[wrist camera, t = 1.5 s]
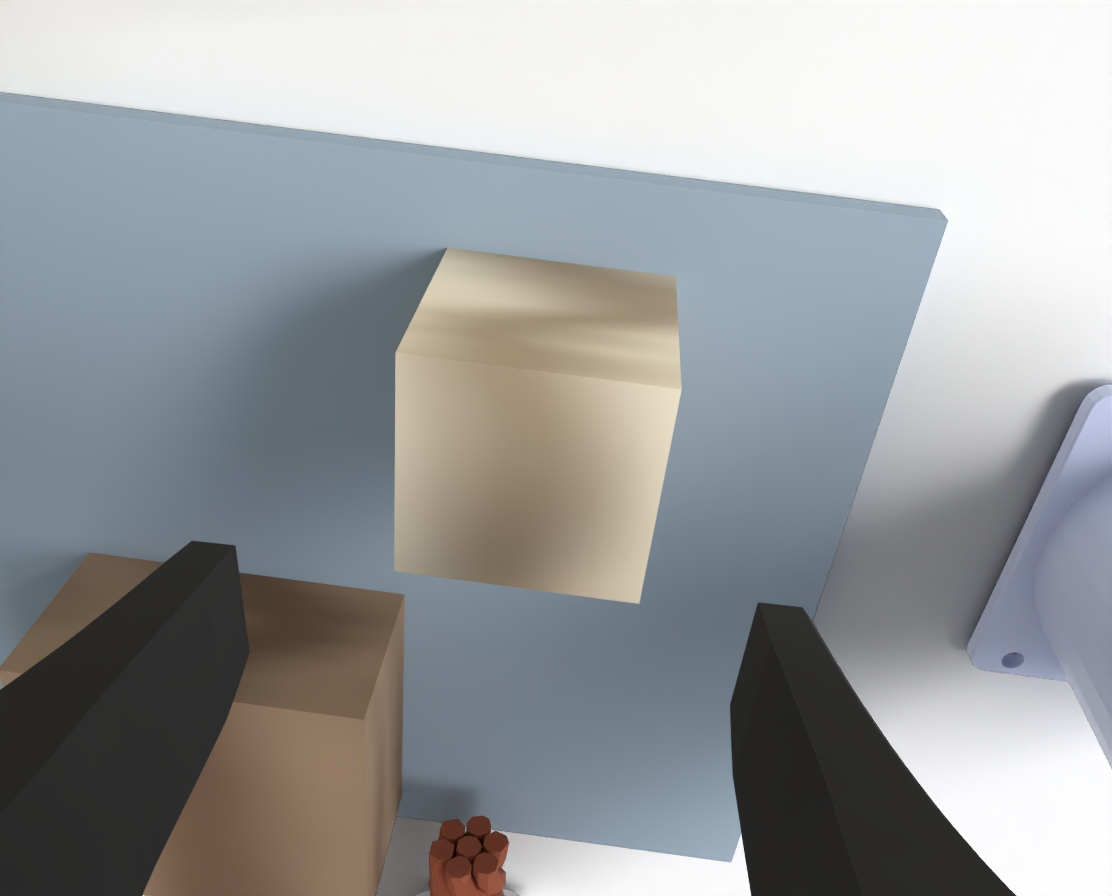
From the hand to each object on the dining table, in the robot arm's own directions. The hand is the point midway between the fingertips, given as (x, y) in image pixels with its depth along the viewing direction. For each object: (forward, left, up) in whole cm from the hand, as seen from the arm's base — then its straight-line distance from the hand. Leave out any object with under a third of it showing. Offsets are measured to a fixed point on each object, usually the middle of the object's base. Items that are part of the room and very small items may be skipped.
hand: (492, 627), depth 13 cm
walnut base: (+7, +11, -8) cm, 15 cm away
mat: (+4, +6, -9) cm, 11 cm away
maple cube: (0, 0, -8) cm, 8 cm away
